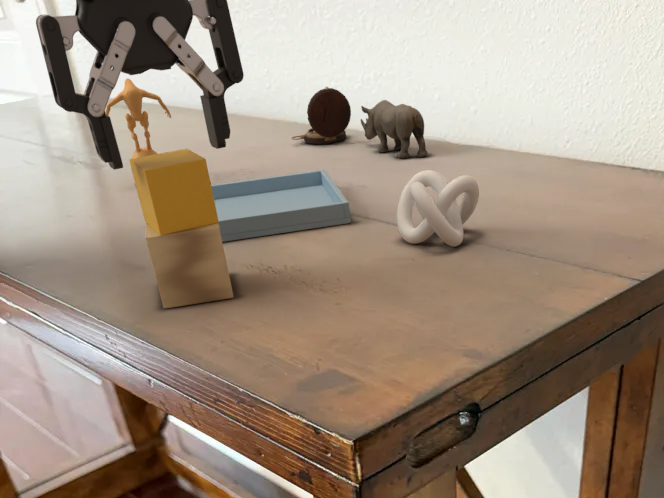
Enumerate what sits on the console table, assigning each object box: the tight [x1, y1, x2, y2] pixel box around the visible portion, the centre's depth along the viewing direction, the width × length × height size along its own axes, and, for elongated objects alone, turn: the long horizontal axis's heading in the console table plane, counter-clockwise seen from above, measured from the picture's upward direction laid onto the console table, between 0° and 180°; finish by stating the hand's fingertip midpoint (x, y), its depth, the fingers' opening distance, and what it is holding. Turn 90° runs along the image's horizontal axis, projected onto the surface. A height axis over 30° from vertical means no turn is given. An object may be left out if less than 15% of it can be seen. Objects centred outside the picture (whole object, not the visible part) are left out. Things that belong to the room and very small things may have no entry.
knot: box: [396, 169, 480, 247], centre depth 77 cm, size 8×8×6 cm
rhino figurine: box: [360, 99, 429, 159], centre depth 108 cm, size 4×14×6 cm, turn 35°
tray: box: [211, 169, 352, 243], centre depth 89 cm, size 17×15×2 cm
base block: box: [145, 222, 235, 309], centre depth 70 cm, size 6×6×6 cm
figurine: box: [105, 77, 172, 159], centre depth 101 cm, size 8×6×12 cm
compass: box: [291, 86, 352, 145], centre depth 115 cm, size 8×8×7 cm
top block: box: [128, 148, 219, 235], centre depth 67 cm, size 5×5×5 cm
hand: (168, 156), depth 66 cm, fingers open, 8 cm apart
